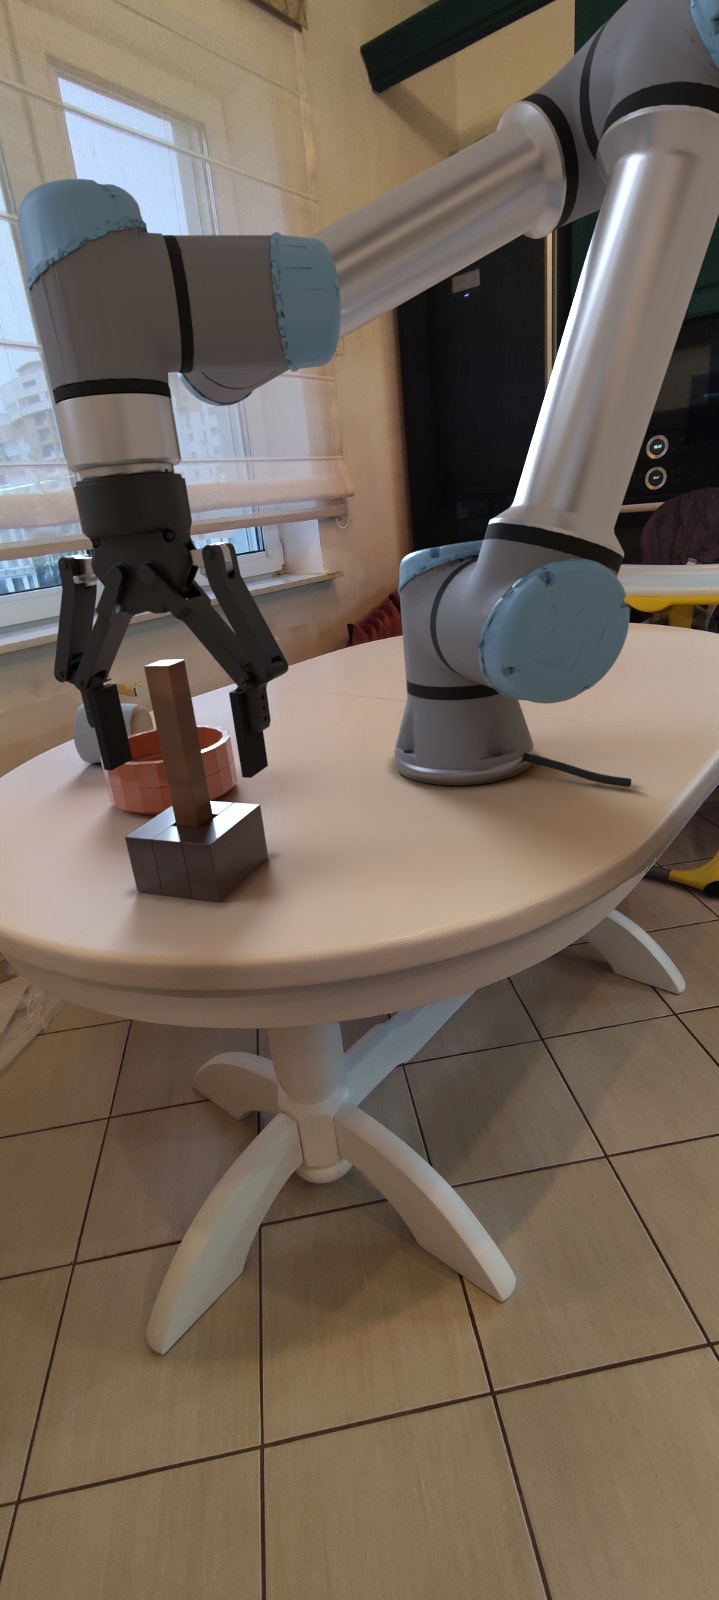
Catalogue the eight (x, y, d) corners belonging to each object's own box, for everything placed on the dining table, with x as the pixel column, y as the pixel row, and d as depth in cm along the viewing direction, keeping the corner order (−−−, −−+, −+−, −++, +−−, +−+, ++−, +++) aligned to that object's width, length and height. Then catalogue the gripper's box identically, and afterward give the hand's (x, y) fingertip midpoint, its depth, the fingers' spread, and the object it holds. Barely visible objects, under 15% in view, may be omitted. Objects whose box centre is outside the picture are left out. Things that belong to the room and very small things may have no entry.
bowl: (259, 775, 83) (252, 725, 81) (193, 823, 72) (182, 766, 70) (161, 770, 88) (152, 723, 86) (85, 814, 77) (72, 761, 75)
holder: (268, 856, 63) (260, 804, 61) (220, 902, 56) (209, 844, 55) (191, 849, 66) (181, 798, 64) (137, 892, 59) (124, 836, 57)
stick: (222, 869, 62) (184, 659, 55) (209, 881, 60) (167, 665, 53) (201, 866, 63) (161, 659, 56) (186, 878, 61) (143, 666, 54)
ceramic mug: (143, 766, 90) (130, 706, 87) (79, 771, 91) (65, 711, 88) (168, 742, 100) (157, 687, 97) (110, 746, 101) (98, 692, 98)
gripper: (311, 454, 48) (343, 758, 56) (33, 490, 57) (94, 748, 65) (257, 451, 42) (301, 793, 50) (-46, 492, 51) (32, 777, 59)
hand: (184, 768), depth 58 cm, fingers open, 12 cm apart
